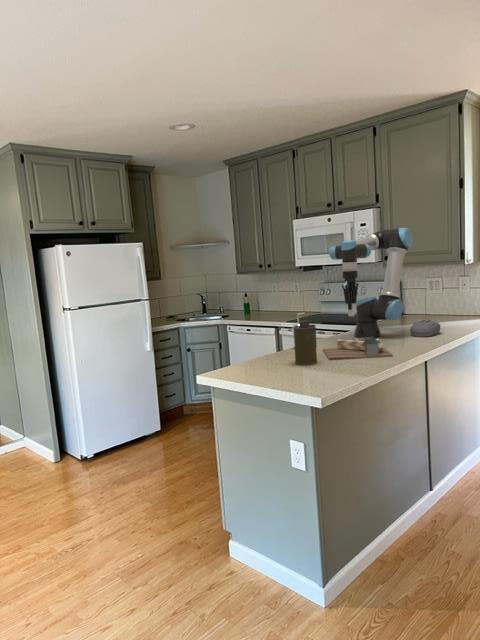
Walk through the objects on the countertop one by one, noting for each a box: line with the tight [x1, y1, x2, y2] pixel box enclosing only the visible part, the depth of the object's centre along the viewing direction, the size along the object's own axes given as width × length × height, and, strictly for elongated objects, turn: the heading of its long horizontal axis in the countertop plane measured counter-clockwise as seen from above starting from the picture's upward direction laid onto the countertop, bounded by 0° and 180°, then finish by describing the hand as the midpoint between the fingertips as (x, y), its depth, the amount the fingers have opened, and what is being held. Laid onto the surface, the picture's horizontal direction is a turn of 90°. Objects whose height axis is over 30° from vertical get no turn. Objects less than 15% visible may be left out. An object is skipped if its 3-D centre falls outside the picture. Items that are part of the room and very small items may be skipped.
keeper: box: [360, 337, 379, 356], centre depth 234 cm, size 12×6×7 cm, turn 178°
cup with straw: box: [290, 312, 307, 336], centre depth 263 cm, size 8×9×20 cm
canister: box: [292, 320, 318, 366], centre depth 226 cm, size 11×10×20 cm
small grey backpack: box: [409, 319, 441, 338], centre depth 279 cm, size 15×8×20 cm
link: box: [336, 339, 384, 352], centre depth 242 cm, size 24×5×4 cm, turn 48°
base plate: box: [322, 347, 394, 361], centre depth 240 cm, size 24×30×1 cm
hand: (351, 315), depth 251 cm, fingers closed
